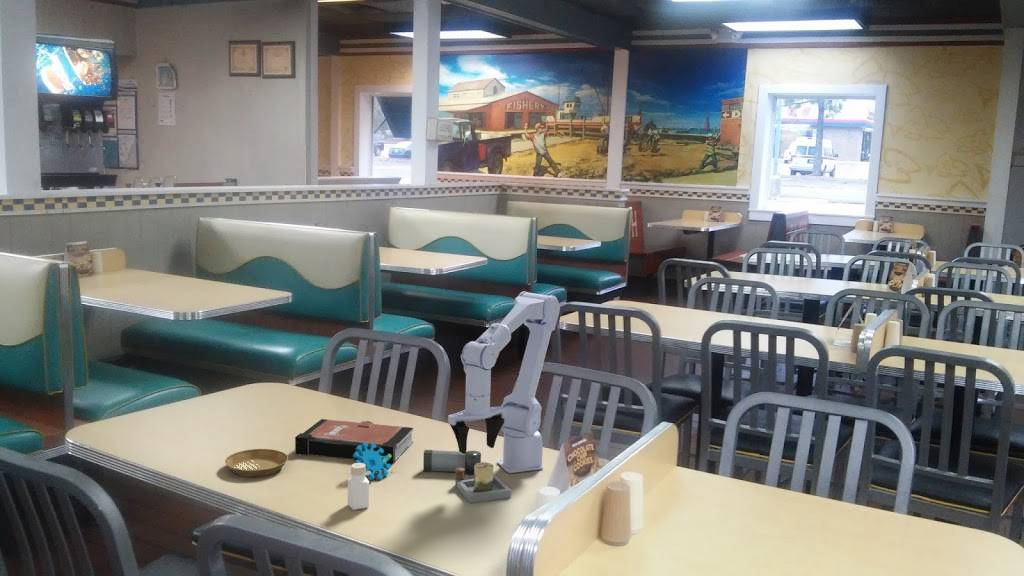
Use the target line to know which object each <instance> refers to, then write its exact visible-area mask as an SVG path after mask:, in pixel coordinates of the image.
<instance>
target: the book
mask: <svg viewBox="0 0 1024 576" xmlns="http://www.w3.org/2000/svg"><path fill="white" fill-rule="evenodd" d="M413 431H414V427H408V426H398V425H388V424H378V423H377V424H376V423H374V421H373V422H372V421H369V420H365V421H363V420H362V421H360V422H357V421H356V422H354V421H345V420H344V421H343V420H335V419H325V418H320V419H319V420H318V421H317V422H315V423H314V424H313V425H312V426H311V427H309V428H307V430H305V431H304V432H302V433H299V434H297V435H296V436H295V437H294V441H295V443H294V451H295V455H299V454H301V455H300V456H316V455H318V457H327V458H335V457H336V458H337V459H344V460H345V459H346V460H347V459H348V460H355V461H356V460H359V459H358V458H354V457H353V455H354V453H355V452H356V451H357V450H356V447H357V446H359V445H361V446H362V444H363V443H364V442H366V443H368V446H367V449H368V450H370V445H371V444H372V443H374V444H375V445H376V448H374V449H373V450H374V451H378V450H379V449H380V448H382V449H383V450H384V452H383V453H382V454H379V455H381V456H387V455H388V454H391V456H392V457H391V458H390V459H389V460H388V461H387V464H390V465H395V463H396V462H397V461H398V460H399V459H400V458H399V457H400V456H401V457H402V455H403V454H404V453H406V451H407V450H408V449H409V448H410V447H411V445H413V443H414V441H413V440H412V436H413V435H412V434H413ZM362 451H363V452H364V448H363V446H362ZM357 452H358V451H357ZM358 453H359V452H358ZM359 455H360V453H359ZM360 456H361V455H360ZM336 458H335V459H336ZM359 461H360V460H359Z"/></svg>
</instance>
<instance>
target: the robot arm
mask: <svg viewBox="0 0 1024 576" xmlns="http://www.w3.org/2000/svg"><path fill="white" fill-rule="evenodd" d="M560 312H561V307H560V303H559V300H558V298H557V297H556V296H555V295H547V294H540V293H534V292H529V291H524V290H523V291H521V292H520V293H519V294H518V296H516V297H515V299H514V306H513V308H512V309H510V311H509V312H508V314H507V315H506V316H505V317H504V318H503V319H502V321H501V322H494V323H492V324H490V325H489V327H488V329H486V331H484V332H483V333H482V334H481V335H480V336H479V337H478V338H477V339H476V340H475V341H474V340H472V341H469V342H468V343H466V344H465V345H464V346H463V348H462V351H461V354H460V359H461V362H462V365H463V371H464V374H465V408H464V409H463V410H461V411H459V412H456V413H452V414H448V418H447V423H448V424H449V425H450V428H451V429H452V432H453V434H454V436H455V439H456V443H457V447H458V452H461V453H463V454H465V453H466V452H467V451H468V450H467V447H468V446H467V444H468V443H467V442H468V434H469V432H470V427H469V426H467V424H466V423H467V422H468V423H469V422H474V421H479V420H485V427H486V428H485V429H486V446H487V447H488V448H490V449H493V448H495V444H496V442H497V438H498V434H499V433H500V431H501V432H502V433H503V445H502V446H503V448H502V449H503V450H502V452H503V453H502V454H503V455H502V459H499V460H497V461H496V463H497V464H498V465H499V466H500V467H501V468H502V469H504V471H505V472H507V473H508V474H512V473H513V474H515V473H523V472H529V471H537V470H543V469H544V466H543V450H544V449H543V446H544V445H543V437H542V435H541V433H540V432H539V429H540V426H541V422H542V421H541V417H542V415H541V413H542V409H543V407H542V405H541V404H540V403H539V401H538V400H537V398H536V397H535V396H536V394H537V393H536V392H537V390H538V389H537V388H538V385H539V382H540V378H541V374H542V371H543V370H542V369H543V366H544V362H545V359H546V354H547V350H548V347H549V344H550V339H551V334H552V332H553V331H555V329H556V325H557V322H558V319H559V315H560ZM523 324H524V326H526V327H527V328H528V330H529V336H528V340H527V344H526V346H525V351H524V354H523V358H522V361H521V365H520V370H519V373H518V377H517V381H516V384H515V388H514V391H513V392H512V393H510V394H507V395H506V396H504V398H503V401H502V404H501V406H500V405H499V406H491V385H492V383H491V382H492V381H491V379H492V376H491V375H492V368H493V367H495V364H496V362H497V359H498V357H499V355H500V352H502V350H503V349H504V348H505V347H506V346H507V345H508V344H509V342H510V341H511V339H512V333H513V332H515V331H516V330H517V329H518V328H519V327H520V326H522V325H523Z"/></svg>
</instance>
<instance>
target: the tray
mask: <svg viewBox="0 0 1024 576" xmlns="http://www.w3.org/2000/svg"><path fill="white" fill-rule="evenodd" d="M456 489H457V491H459V493H460V494H462V496H463V497H464V498H465V499H466V501H467V502H468V503H469V502H470V503H469V504H472V503H473V504H474V503H481V502H488V501H496V500H503V499H509V498H512V489H511V488H509V486H507V484H506V483H504V481H502V480H501V479H500V477H498V476H497V475H493V491H486V492H479V493H475V492H474V478H470V479H469V478H468V479H464V480H461V481H457V487H456Z"/></svg>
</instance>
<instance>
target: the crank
mask: <svg viewBox="0 0 1024 576" xmlns="http://www.w3.org/2000/svg"><path fill="white" fill-rule="evenodd" d="M423 451H424V452H423V461H422V462H423V465H422V466H423V470H422V471H424V472H452V473H456V471H455V469H456V468H464V469H465V471H464V474H465V473H466V474H469V475H474V465H475V464H477V463H481V462H482V453H481V452H480V451H479V450H478V451H477V450H466V453H465V454H463V453H461V452H459V450H458V451H457V450H456V451H453V450H433V449H424V450H423Z"/></svg>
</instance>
